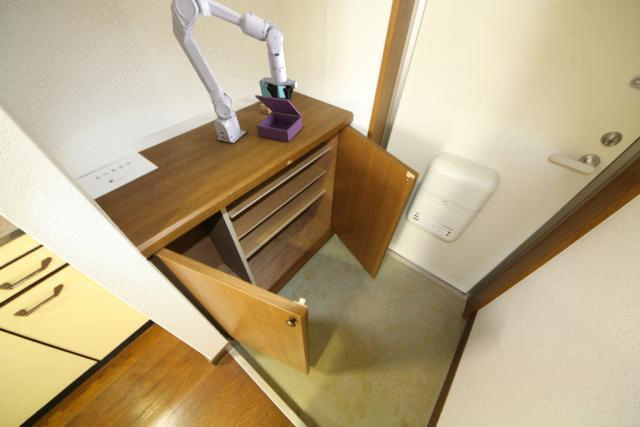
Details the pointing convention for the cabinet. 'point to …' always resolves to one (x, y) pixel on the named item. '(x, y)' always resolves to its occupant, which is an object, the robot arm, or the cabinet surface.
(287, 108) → the lid
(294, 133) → the purple flat box
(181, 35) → the robot arm
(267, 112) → the block
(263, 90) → the teal flat upright piece
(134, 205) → the cabinet surface
